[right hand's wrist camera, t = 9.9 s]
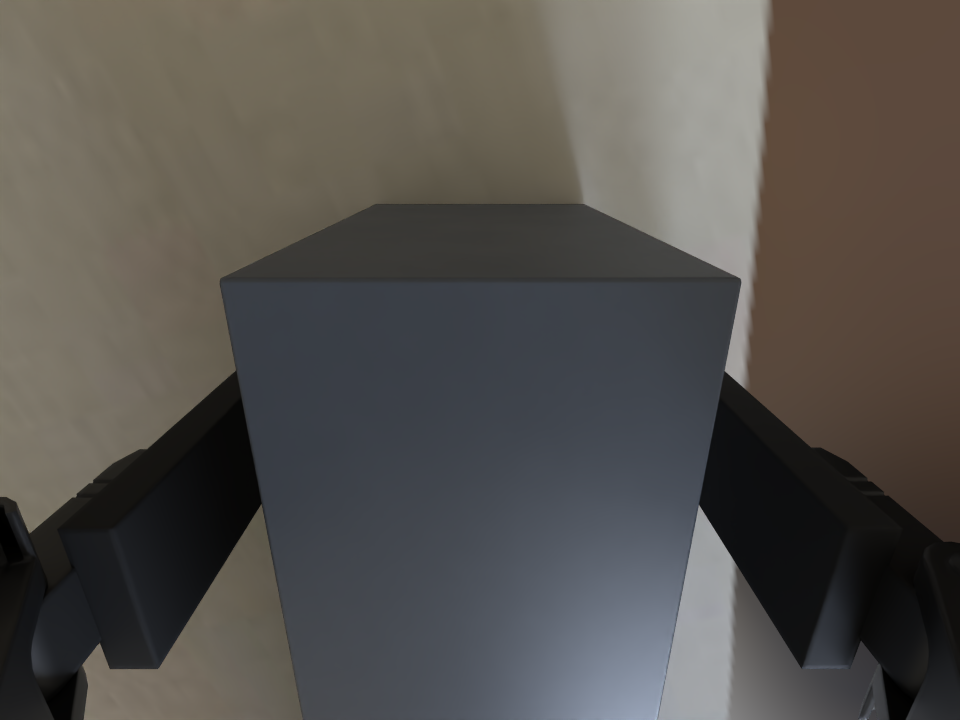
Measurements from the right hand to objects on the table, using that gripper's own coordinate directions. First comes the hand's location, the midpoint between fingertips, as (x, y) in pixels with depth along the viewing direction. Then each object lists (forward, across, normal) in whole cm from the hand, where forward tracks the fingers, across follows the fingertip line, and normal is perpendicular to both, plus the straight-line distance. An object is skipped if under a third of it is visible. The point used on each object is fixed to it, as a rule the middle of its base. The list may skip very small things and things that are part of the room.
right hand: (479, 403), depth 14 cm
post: (+1, 0, -20) cm, 20 cm away
